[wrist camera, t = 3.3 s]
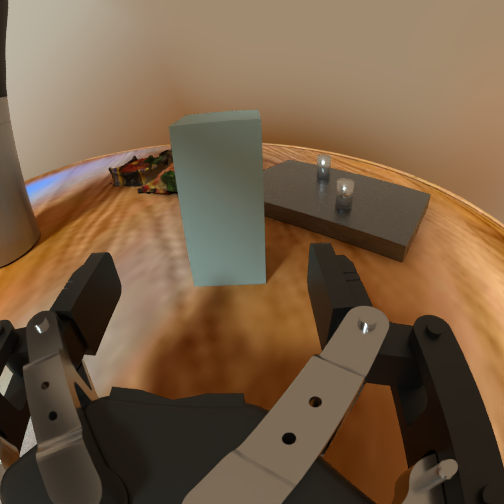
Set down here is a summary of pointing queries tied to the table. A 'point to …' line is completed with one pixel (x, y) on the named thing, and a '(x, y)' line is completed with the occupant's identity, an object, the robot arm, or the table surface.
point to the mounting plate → (353, 226)
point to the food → (148, 174)
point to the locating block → (221, 195)
